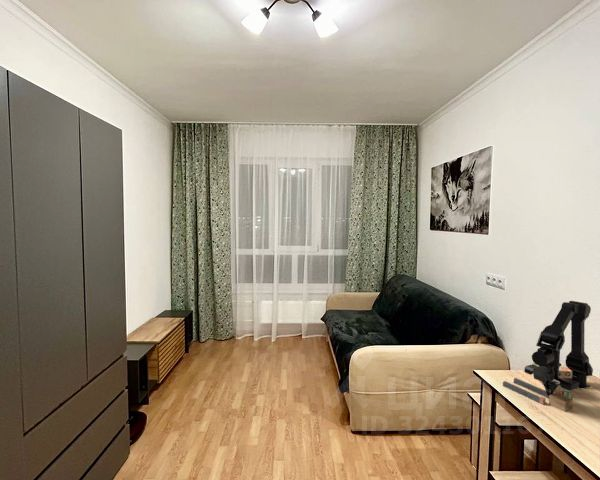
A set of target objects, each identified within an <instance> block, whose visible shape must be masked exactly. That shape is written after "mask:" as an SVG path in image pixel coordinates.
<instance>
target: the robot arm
mask: <svg viewBox="0 0 600 480" xmlns="http://www.w3.org/2000/svg"><path fill="white" fill-rule="evenodd" d="M560 307H561V308H560V310H559V311H558V312H557V315H556V316H555V318H554V319H553V322H552V323H551V324H549V325H546V326H545V327H544V328H543V330H542V331H541V332H540V333H539V337H538V338H537V342H536V347H539V348H537V351H535V352H533V353H532V355H531V359H532V361H533V362H534V363H535V364H536V365H538V366H536V365H534V363H533V362H532V364H529V365H528V364H527V365H525V366H524V373H525V374H528V375H532V376H533V379H534V380H537V381H538V382H540V381H541V382H542V383H543V384H542V385H543V387H544V390H545V391H546V393H547V395H548V396H549V395H551V394H553V393H554V391H555V389H556V388H557V387H558V386H559V385H560V386H561V387H562V388H564V389H566V390H569V391H571V392H572V391H574V390H577V389H582V390H584V389H586V388H588V387H591V384H588V383H587V380H588V379H587V378H588V377H591V376H593V373H594V369H593V366H592V365H591V363H590V358H589V356H588V355H587V353H586V351H585V321H586V320H587V319H588V318H589V316H590V314H591V310H592V309H591V306H590V305H589V304H588V303H587V302H580V301H576V300H569V301H568V302H566V301H564V302H562V304H561V306H560ZM570 323H571V325H570V329H571V332H570V335H571V337H570V338H571V339H570V342H571V343H570V344H571V345H570V348H571V350H570V352H569V353H568V354H567V355H566V356H565V357H566V358H565V366H567V367H568V368H569V369H570V370H571V371H572V379H570V378H565V379H563V378H560V377H559V376H561V373H559V367H560V366H561V363H562V362H561V360H560V359H561V356H560V355H561V350H562V349H563V346H564V345H565V341H566V340H565V338H566V337H565V330H566V328H567V327H568V326H569V324H570ZM559 362H561V363H559Z"/></svg>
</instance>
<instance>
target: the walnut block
mask: <svg viewBox="0 0 600 480" xmlns="http://www.w3.org/2000/svg"><path fill="white" fill-rule="evenodd" d="M548 405H549V406H552V407H553V408H555V409H558V410H560V411H562V412H564V413H565V412H567V411H570V410H572V409H573V399H572V397H571V398H568V397H566V396H563V395H561V394H558V393H554V394H551V395H549V398H548Z"/></svg>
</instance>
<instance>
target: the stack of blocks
mask: <svg viewBox="0 0 600 480" xmlns="http://www.w3.org/2000/svg"><path fill="white" fill-rule="evenodd" d="M559 363H561V366H560V367H559V373H561V376H559V377H560V378H563V379H565V378H570V379H572V371H571V370H570V369H569V368H568V367H567V366H566V364H564V363H563V362H561V361H560V362H559ZM532 364H534V365H536V364H535V363H534V362H532ZM536 366H538V365H536ZM539 383H541V384H542V385H543V383H542V382H541V381H539ZM554 393H558V394H561V395H563V396H566V397H568V398H571V399H572V391H569V390H566V389H564V388H562V387H561V386H560V385H559V386H558V387H557V388H556V389H555V391H554Z"/></svg>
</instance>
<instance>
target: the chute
mask: <svg viewBox="0 0 600 480" xmlns="http://www.w3.org/2000/svg"><path fill="white" fill-rule="evenodd" d="M513 383H514V384H512V383H510V382H508V381H506V380H505V381H502V387H504V388H506V389H509V390H510V391H513V392H515V393H517V394H519V395H521V396H523V397H525V398H527V397H528V399H530V400H532V401H534V402H536V403H539V404H540V405H546V398H547V399H549V396H548V395H547V393H546V390H545V389H543V388H540V387H538V386H535V385H533V384H531V383H529V382H526V381H524V380H521V379H519V378H517V377H514V378H513ZM517 385H518V386H517ZM519 386H520V387H519ZM522 387H523V388H522ZM524 388H525V389H524ZM526 389H527V390H526ZM528 390H529V391H528ZM530 391H532V392H530ZM537 394H538V395H537ZM553 394H554V393H553ZM539 395H541V396H539Z"/></svg>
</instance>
